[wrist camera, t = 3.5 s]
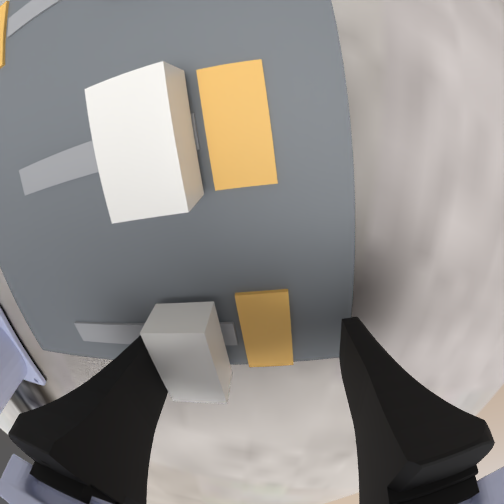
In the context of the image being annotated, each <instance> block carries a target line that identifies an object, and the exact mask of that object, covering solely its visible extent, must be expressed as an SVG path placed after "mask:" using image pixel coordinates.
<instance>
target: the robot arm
mask: <svg viewBox="0 0 504 504" xmlns="http://www.w3.org/2000/svg"><path fill="white" fill-rule="evenodd" d="M339 359H340V366H341V374H342V379H343V383H344V387H345V391H346V395H347V399H348V403H349V407H350V411H351V415H352V419H353V424H354V429H355V436H356V445H357V456H358V470H359V497H360V498H359V499H360V500H359V501H360V503H359V504H504V467H502V468H500V469H498V470H496V471H494V472H493V473H491V474H489V475H487V476H485V477H483V478H481V479H480V480H478V481H476V477H475V475H476V474H478V469H477V465H476V464H477V463H478V462H480V461H481V460H482V459H483V458H484V457H485V456H486V455H487V454H488V453H489V452H490V450H491V449H492V448H493V446H494V443H495V442H494V440H493V437H492V434H491V432H490V429H489V428H488V425H487V423H486V422H485V420H483V419H480V418H478V417H476V416H474V415H471V414H469V413H467V412H465V411H463V410H461V409H459V408H457V407H455V406H453V405H451V404H450V403H448V402H446V401H445V400H443V399H442V398H440V397H439V396H437V395H436V394H434V393H433V392H431V391H430V390H428V389H427V388H425V387H424V386H423V385H422V384H420V383H419V382H418V381H417V380H415V379H414V378H413V377H412V376H411V375H409V374H408V373H407V372H406V371H405V370H404V369H403V368H402V367H401V366H400V365H399V364H398V363H397V362H396V361H395V360H394V359H393V358H392V357H391V356H390V355H389V354H388V353H387V352H386V351H385V350H384V348H383V347H382V346H381V345H380V344H379V343H378V342H377V340H376V339H375V338H374V337H373V336H372V334H371V333H370V332H369V331H368V329H367V328H366V327H365V326H364V324H363V323H362V322H361V320H360V319H359V318H358V317H353V318H344V319H342V322H341V337H340V350H339ZM23 379H24V380H27V381H30V382H33V383H36V384H40V385H45V383H46V380H45V379H44V377H43V376H42V374H41V373H40V372H39V370H38V369H37V367H36V366H35V364H34V363H33V361H32V360H31V358H30V357H29V355H28V354H27V352H26V351H25V349H24V348H23V346H22V344H21V343H20V341H19V339H18V338H17V336H16V334H15V333H14V331H13V329H12V327H11V326H10V324H9V322H8V320H7V318H6V317H5V315H4V313H3V311H2V309H1V307H0V414H1V412H2V410H3V409H4V407H5V406H6V404H7V403H8V401H9V399H10V398H11V396H12V395H13V393H14V392H15V390H16V389H17V387H18V386H19V385H20V383H21V382H22V380H23ZM167 393H168V390H167V388H166V387H165V385H164V383H163V381H162V379H161V377H160V375H159V373H158V371H157V369H156V367H155V365H154V363H153V361H152V359H151V357H150V354H149V352H148V350H147V348H146V346H145V344H144V341H143V339H142V337H141V335H140V336H139V337H138V338H137V339H136V340H135V341H133V342H132V343H131V344H130V345H129V346H128V347H127V348H126V349H125V350H124V351H123V352H122V353H121V354H119V355H118V356H117V357H116V358H115V359H114V360H113V361H112V362H110V363H109V364H108V365H107V366H106V367H105V368H103V369H102V370H101V371H100V372H99V373H97V374H96V375H95V376H94V377H92V378H91V379H90V380H88V381H87V382H85V383H84V384H82V385H81V386H79V387H78V388H76V389H75V390H73V391H71V392H69V393H68V394H66V395H64V396H63V397H61V398H59V399H57V400H55V401H53V402H51V403H48V404H46V405H44V406H41V407H39V408H36V409H33V410H30V411H28V412H25V413H21V414H19V416H18V417H17V419H16V421H15V423H14V425H13V426H12V428H11V430H10V431H9V433H8V435H9V437H10V439H11V440H12V441H13V442H14V443H15V444H16V445H17V446H18V447H19V448H21V450H22V451H24V452H25V453H26V454H27V455H28V456H29V457H31V458H32V459H33V460H34V461H35V462H34V465H31V464H30V463H28V462H27V461H25V460H24V459H22V458H20V457H18V456H17V455H15V454H12V456H11V458H10V460H9V462H8V464H7V466H6V468H5V471H4V472H3V475H2V477H1V479H0V496H1V497H2V498H3V499H5V500H6V501H7V502H8V503H10V504H146V496H147V478H148V467H149V460H150V454H151V448H152V443H153V437H154V433H155V429H156V425H157V422H158V419H159V416H160V414H161V411H162V408H163V405H164V402H165V399H166V396H167Z"/></svg>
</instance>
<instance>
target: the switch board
mask: <svg viewBox="0 0 504 504" xmlns="http://www.w3.org/2000/svg"><path fill="white" fill-rule="evenodd" d="M162 61H164V62H166V63H169V64H171V65H173V66H175V67H177V68H180V69H182V70H184V73H185V80H186V87H187V94H188V101H189V107H190V114H191V120H192V127H193V133H194V139H195V145H196V151H197V157H198V163H199V168H200V174H201V180H202V185H203V191H204V195H203V196H202V197H201V199H200V200H199V201H198V202H197V203H196V204H195V206H194V207H193V208H192V209H191V210H190V211H189V212H187V213H180V214H173V215H165V216H158V217H152V218H145V219H138V220H132V221H126V222H119V223H113V224H112V222H111V219H110V215H109V211H108V208H107V204H106V200H105V196H104V192H103V188H102V184H101V180H100V175H99V171H98V166H97V162H96V157H95V152H94V147H93V141H92V136H91V130H90V124H89V118H88V111H87V104H86V97H85V89H86V88H88V87H91V86H93V85H96V84H98V83H100V82H103V81H105V80H108V79H111V78H113V77H116V76H119V75H121V74H124V73H127V72H130V71H133V70H136V69H139V68H142V67H145V66H148V65H151V64H155V63H158V62H162ZM354 258H355V192H354V167H353V150H352V136H351V124H350V114H349V104H348V95H347V87H346V80H345V73H344V66H343V59H342V53H341V47H340V41H339V36H338V31H337V26H336V21H335V16H334V11H333V7H332V2H331V0H10V1H6V2H5V3H4V4H3V5H1V6H0V267H1V270H2V272H3V275H4V277H5V279H6V281H7V284H8V286H9V288H10V290H11V292H12V294H13V297H14V299H15V301H16V303H17V305H18V307H19V309H20V311H21V313H22V314H23V316H24V318H25V320H26V322H27V324H28V326H29V327H30V329H31V331H32V333H33V334H34V336H35V338H36V340H37V341H38V343H39V345H40V346H41V348H42V349H43V350H46V351H52V352H58V353H64V354H70V355H77V356H85V357H93V358H101V359H111V360H114V359H115V358H116V357H117V356H118V355H119V354H121V353H122V352H123V351H124V350H125V349H126V348H127V347H128V346H129V345H130V344H131V343H132V342H133V341H135V340H136V339H137V338H138V337H139V336H140V332H141V330H142V328H143V326H144V324H145V322H146V321H147V319H148V317H149V315H150V313H151V312H152V310H153V308H154V306H155V304H162V303H189V302H211V301H214V303H215V308H216V312H217V316H218V320H219V324H220V327H221V331H222V335H223V339H224V343H225V347H226V351H227V354H228V358H229V362H230V364H249V367H266V366H284V365H293V362H295V361H308V360H318V359H328V358H337V357H339V350H340V337H341V322H342V319H344V318H351V315H352V301H353V284H354Z"/></svg>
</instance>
